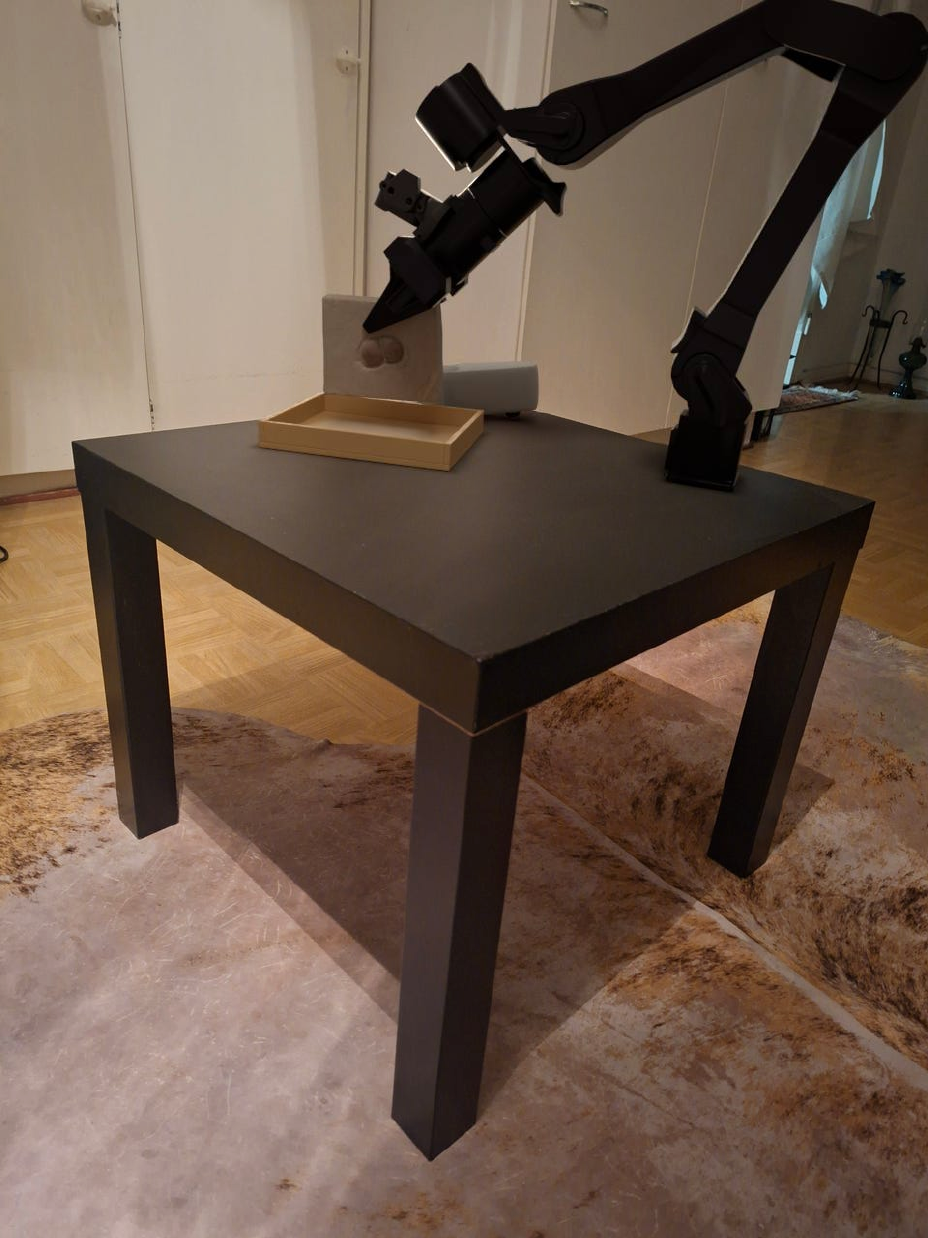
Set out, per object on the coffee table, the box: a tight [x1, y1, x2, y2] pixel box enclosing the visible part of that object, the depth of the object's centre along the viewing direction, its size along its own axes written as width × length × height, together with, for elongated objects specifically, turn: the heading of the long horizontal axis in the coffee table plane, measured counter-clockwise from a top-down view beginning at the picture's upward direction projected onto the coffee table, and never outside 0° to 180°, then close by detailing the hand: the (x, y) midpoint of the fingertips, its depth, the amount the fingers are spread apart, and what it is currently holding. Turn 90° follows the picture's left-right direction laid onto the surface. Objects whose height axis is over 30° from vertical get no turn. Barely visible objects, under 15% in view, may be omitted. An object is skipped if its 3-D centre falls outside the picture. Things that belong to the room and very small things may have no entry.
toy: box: [417, 360, 540, 420], centre depth 101 cm, size 12×6×15 cm
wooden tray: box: [257, 391, 485, 472], centre depth 88 cm, size 19×17×3 cm
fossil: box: [321, 293, 444, 403], centre depth 84 cm, size 12×4×10 cm, turn 82°
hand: (369, 327), depth 84 cm, fingers closed on fossil, 3 cm apart
